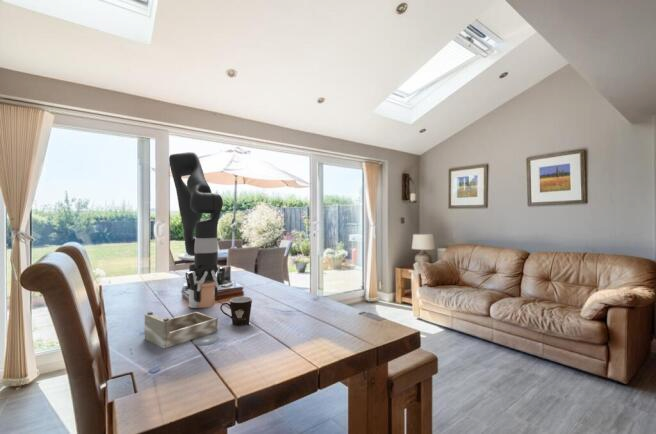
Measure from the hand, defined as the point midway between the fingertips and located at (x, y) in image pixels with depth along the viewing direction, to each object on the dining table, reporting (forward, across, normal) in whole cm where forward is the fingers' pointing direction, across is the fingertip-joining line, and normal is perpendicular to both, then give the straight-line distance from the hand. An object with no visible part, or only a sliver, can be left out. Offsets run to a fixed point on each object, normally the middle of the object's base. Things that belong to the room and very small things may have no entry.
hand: (205, 299), depth 107 cm
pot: (+2, 0, 0) cm, 2 cm away
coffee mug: (+15, -18, -6) cm, 24 cm away
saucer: (+15, 0, 0) cm, 15 cm away
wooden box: (+15, +1, -12) cm, 19 cm away
